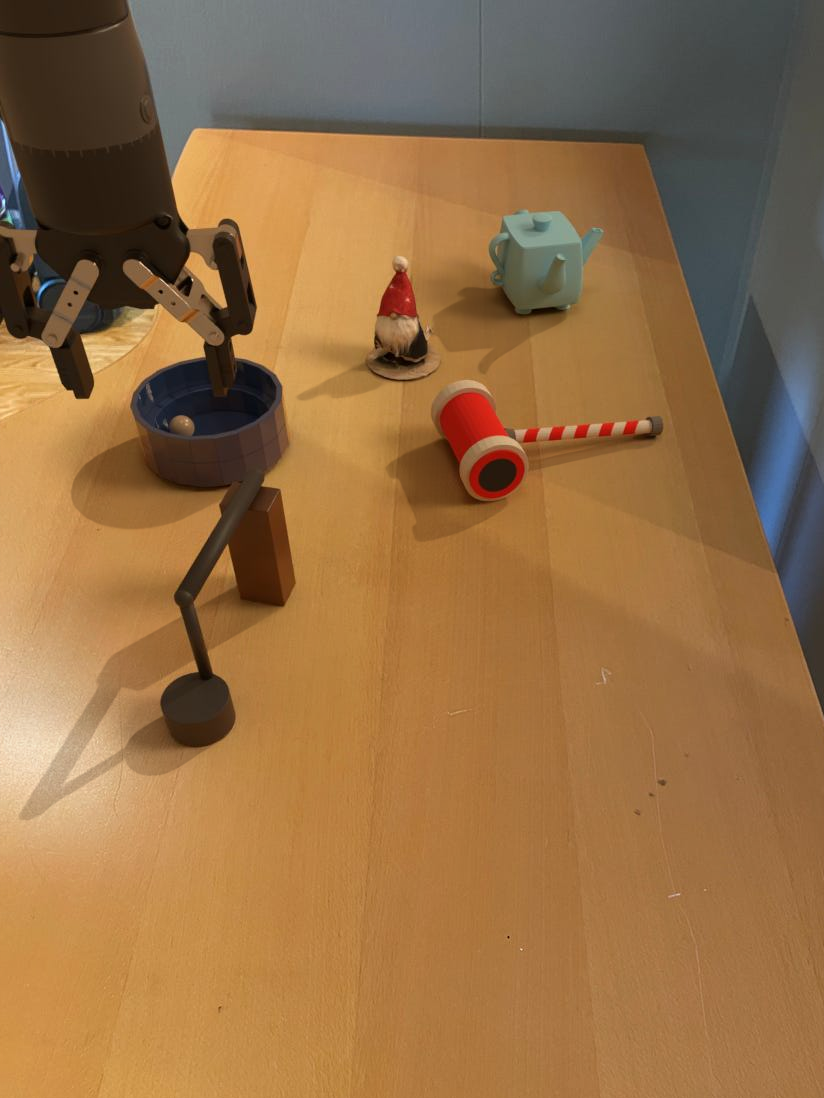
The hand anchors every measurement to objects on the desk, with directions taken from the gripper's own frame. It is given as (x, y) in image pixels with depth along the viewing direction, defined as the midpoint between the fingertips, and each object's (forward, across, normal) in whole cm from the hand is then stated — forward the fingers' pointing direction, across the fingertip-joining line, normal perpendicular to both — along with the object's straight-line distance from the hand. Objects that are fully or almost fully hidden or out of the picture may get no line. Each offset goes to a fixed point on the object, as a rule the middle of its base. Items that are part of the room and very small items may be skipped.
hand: (153, 391), depth 62 cm
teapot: (+24, -32, -57) cm, 70 cm away
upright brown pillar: (+24, -3, -6) cm, 25 cm away
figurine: (+24, -15, -43) cm, 51 cm away
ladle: (+24, -1, +1) cm, 24 cm away
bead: (+22, +7, -28) cm, 36 cm away
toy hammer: (+24, -28, -25) cm, 44 cm away
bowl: (+24, +4, -27) cm, 36 cm away
